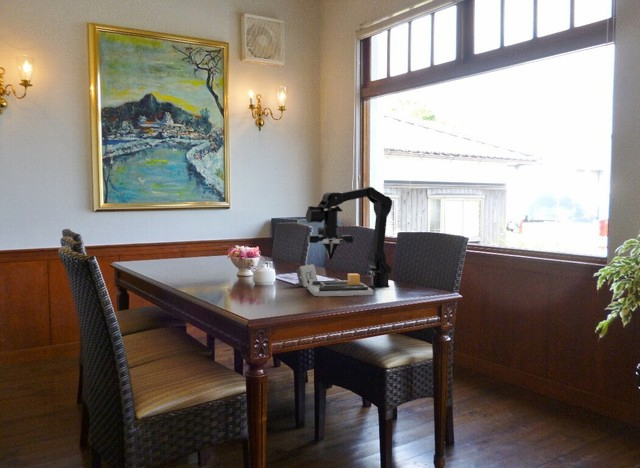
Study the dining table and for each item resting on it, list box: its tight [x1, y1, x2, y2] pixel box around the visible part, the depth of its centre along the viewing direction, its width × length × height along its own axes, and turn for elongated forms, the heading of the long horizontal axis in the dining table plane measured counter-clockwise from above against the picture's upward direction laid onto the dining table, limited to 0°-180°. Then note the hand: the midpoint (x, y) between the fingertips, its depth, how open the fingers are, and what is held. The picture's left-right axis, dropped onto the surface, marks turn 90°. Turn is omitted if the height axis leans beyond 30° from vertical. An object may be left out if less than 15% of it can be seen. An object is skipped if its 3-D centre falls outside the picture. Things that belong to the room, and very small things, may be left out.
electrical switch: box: [295, 264, 319, 288], centre depth 249 cm, size 9×5×9 cm, turn 141°
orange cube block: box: [347, 273, 361, 285], centre depth 235 cm, size 4×5×5 cm
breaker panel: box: [307, 279, 374, 297], centre depth 234 cm, size 24×18×4 cm
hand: (330, 259), depth 238 cm, fingers closed
